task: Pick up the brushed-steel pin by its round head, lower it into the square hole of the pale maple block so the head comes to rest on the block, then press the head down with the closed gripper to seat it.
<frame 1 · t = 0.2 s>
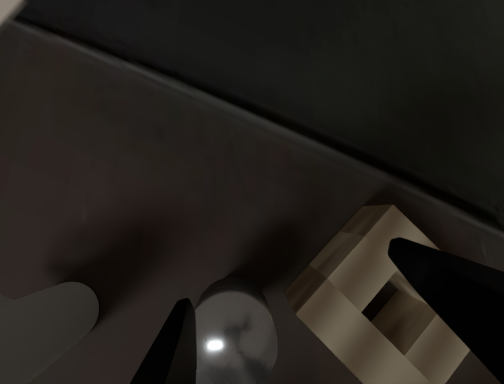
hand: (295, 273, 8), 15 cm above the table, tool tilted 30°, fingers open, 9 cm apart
pin: (234, 292, 22), on the table
mug: (59, 302, 21), on the table
hitch block: (366, 290, 23), on the table
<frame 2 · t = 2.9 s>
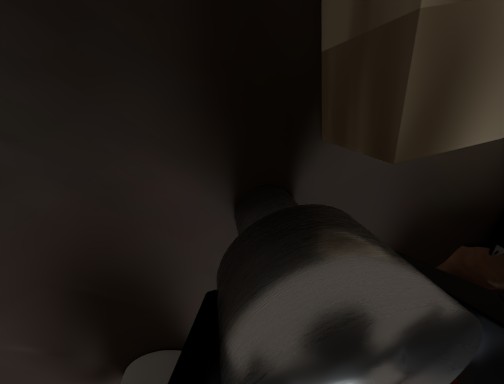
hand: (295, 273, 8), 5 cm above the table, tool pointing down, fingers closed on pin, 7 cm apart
pin: (265, 213, 13), on the table, touching gripper
mug: (147, 374, 18), on the table
stew: (416, 328, 25), on the table
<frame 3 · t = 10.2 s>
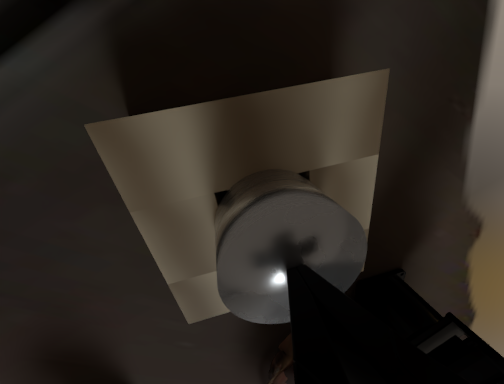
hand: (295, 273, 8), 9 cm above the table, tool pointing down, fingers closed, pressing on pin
pin: (253, 188, 16), resting in hitch block, touching gripper
hitch block: (252, 188, 16), on the table
stew: (318, 358, 32), on the table, touching arm
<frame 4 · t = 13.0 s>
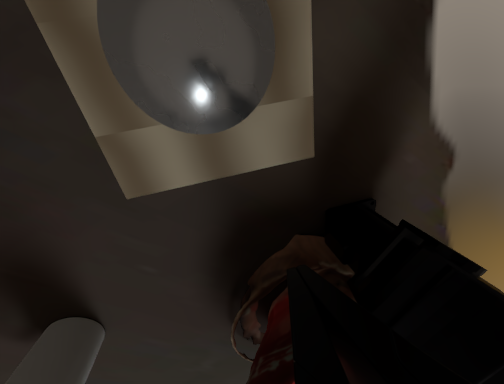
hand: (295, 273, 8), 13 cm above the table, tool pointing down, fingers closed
pin: (202, 75, 16), resting in hitch block
mug: (65, 337, 24), on the table
hitch block: (201, 76, 16), on the table
stew: (291, 304, 31), on the table
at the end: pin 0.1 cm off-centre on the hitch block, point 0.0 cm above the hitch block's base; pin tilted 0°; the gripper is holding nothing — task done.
